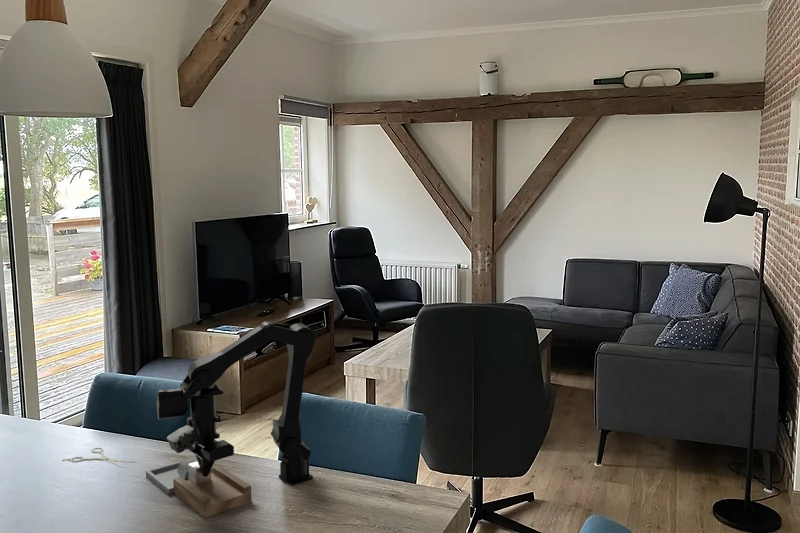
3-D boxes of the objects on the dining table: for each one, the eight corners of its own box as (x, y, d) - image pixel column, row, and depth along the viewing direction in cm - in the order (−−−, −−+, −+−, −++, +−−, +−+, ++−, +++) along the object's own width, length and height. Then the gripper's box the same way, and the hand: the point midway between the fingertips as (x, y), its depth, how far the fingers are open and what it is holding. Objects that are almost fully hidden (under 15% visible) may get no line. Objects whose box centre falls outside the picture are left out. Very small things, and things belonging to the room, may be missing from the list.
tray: (197, 461, 188) (196, 456, 188) (222, 478, 178) (221, 472, 178) (145, 476, 179) (145, 471, 179) (169, 495, 169) (168, 489, 169)
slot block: (219, 480, 177) (218, 464, 176) (251, 501, 165) (251, 485, 165) (173, 494, 169) (173, 478, 168) (204, 518, 157) (203, 501, 157)
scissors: (93, 445, 199) (146, 456, 191) (93, 448, 199) (147, 459, 191) (61, 459, 189) (116, 471, 181) (61, 462, 189) (116, 474, 181)
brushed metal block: (203, 474, 174) (203, 459, 174) (211, 479, 171) (210, 464, 171) (188, 479, 171) (187, 464, 171) (196, 484, 169) (195, 468, 168)
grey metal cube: (198, 478, 176) (192, 467, 179) (201, 467, 175) (194, 456, 177) (183, 483, 174) (177, 471, 176) (186, 472, 172) (179, 460, 174)
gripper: (153, 411, 168) (156, 473, 170) (188, 432, 154) (191, 499, 156) (197, 401, 176) (199, 461, 178) (234, 420, 162) (236, 484, 164)
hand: (205, 475), depth 169 cm, fingers closed
